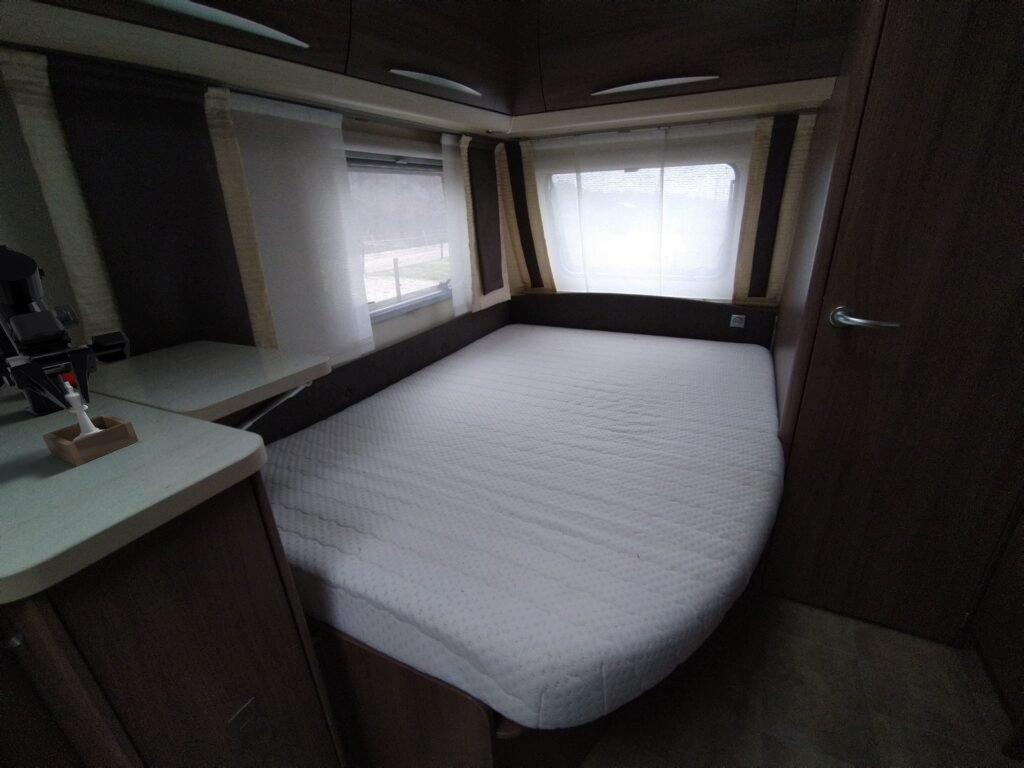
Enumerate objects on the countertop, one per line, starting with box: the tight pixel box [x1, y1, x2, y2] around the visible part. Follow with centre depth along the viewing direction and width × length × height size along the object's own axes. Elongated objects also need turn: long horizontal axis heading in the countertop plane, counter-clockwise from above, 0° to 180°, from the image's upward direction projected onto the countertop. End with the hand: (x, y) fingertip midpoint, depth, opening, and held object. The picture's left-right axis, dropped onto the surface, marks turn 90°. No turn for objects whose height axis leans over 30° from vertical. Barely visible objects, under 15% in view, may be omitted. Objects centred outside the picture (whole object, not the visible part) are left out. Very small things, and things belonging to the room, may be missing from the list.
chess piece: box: [64, 382, 105, 442], centre depth 69 cm, size 5×5×10 cm
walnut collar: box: [42, 413, 139, 467], centre depth 70 cm, size 8×8×4 cm
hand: (78, 405), depth 67 cm, fingers closed on chess piece
